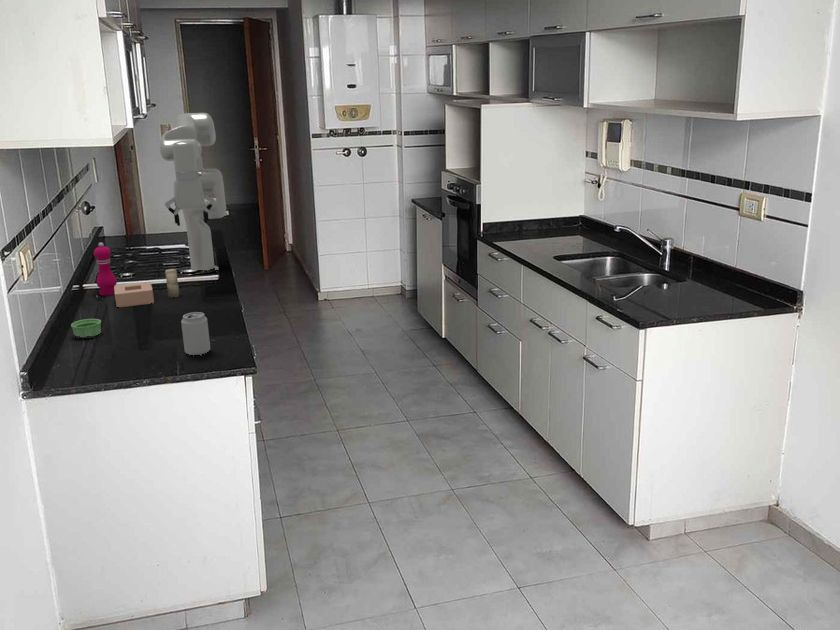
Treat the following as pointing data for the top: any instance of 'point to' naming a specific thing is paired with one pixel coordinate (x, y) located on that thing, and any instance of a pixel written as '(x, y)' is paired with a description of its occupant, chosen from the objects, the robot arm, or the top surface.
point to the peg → (172, 283)
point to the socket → (133, 294)
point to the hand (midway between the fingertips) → (192, 224)
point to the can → (195, 333)
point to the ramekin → (86, 327)
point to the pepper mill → (104, 271)
